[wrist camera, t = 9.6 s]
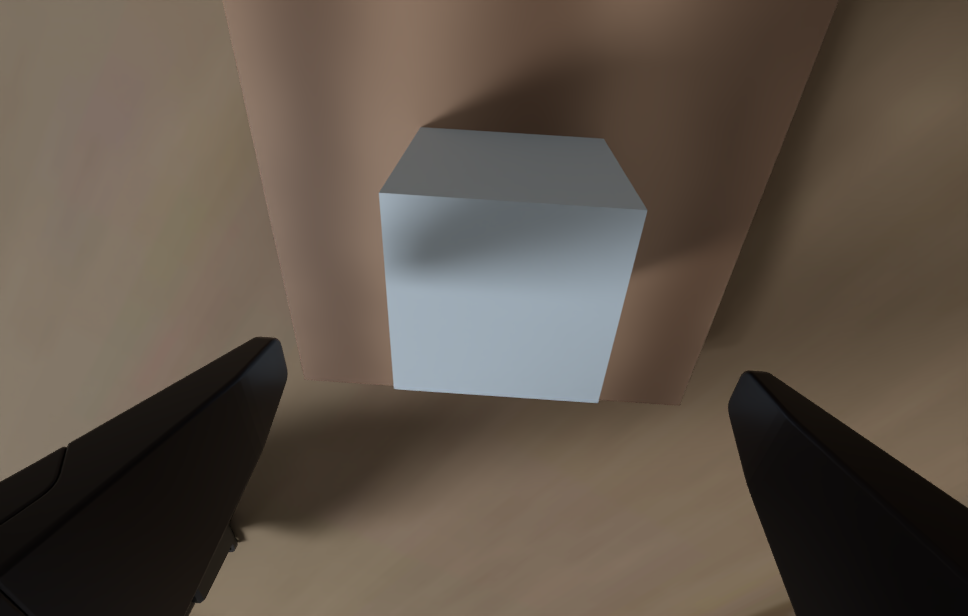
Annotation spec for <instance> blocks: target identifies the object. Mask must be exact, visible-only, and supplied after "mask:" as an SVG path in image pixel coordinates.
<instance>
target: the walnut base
mask: <svg viewBox="0 0 968 616" xmlns="http://www.w3.org/2000/svg"><path fill="white" fill-rule="evenodd" d="M222 1H223V5H224V10H225V15H226V19H227V24H228V29H229V33H230V38H231V42H232V47H233V52H234V56H235V61H236V65H237V70H238V75H239V79H240V84H241V89H242V93H243V98H244V102H245V107H246V112H247V116H248V121H249V125H250V130H251V135H252V139H253V144H254V148H255V153H256V158H257V162H258V167H259V172H260V176H261V181H262V185H263V190H264V195H265V199H266V204H267V208H268V213H269V218H270V222H271V227H272V232H273V236H274V241H275V245H276V250H277V255H278V259H279V264H280V268H281V273H282V278H283V282H284V287H285V292H286V296H287V301H288V305H289V310H290V315H291V319H292V324H293V328H294V333H295V338H296V342H297V347H298V351H299V356H300V361H301V365H302V370H303V375H304V379H305V380H316V381H331V382H345V383H360V384H374V385H389V386H394V384H393V371H392V358H391V345H390V332H389V318H388V305H387V292H386V279H385V266H384V253H383V240H382V227H381V214H380V201H379V192H380V190H381V189H382V187H383V186H384V184H385V182H386V181H387V179H388V178H389V176H390V175H391V173H392V171H393V170H394V168H395V167H396V165H397V163H398V162H399V160H400V159H401V157H402V156H403V154H404V152H405V151H406V149H407V148H408V146H409V145H410V143H411V141H412V140H413V138H414V137H415V135H416V134H417V132H418V130H419V129H420V127H427V128H443V129H459V130H474V131H490V132H506V133H522V134H537V135H553V136H569V137H585V138H601V139H604V140H605V142H606V143H607V145H608V146H609V148H610V150H611V151H612V153H613V155H614V156H615V158H616V160H617V161H618V163H619V164H620V166H621V168H622V169H623V171H624V173H625V174H626V176H627V177H628V179H629V181H630V182H631V184H632V186H633V187H634V189H635V191H636V192H637V194H638V195H639V197H640V199H641V200H642V202H643V204H644V205H645V207H646V209H647V214H646V218H645V222H644V226H643V230H642V234H641V238H640V241H639V245H638V249H637V253H636V257H635V261H634V265H633V269H632V273H631V276H630V280H629V284H628V288H627V292H626V296H625V300H624V304H623V308H622V311H621V315H620V319H619V323H618V327H617V331H616V335H615V339H614V343H613V346H612V350H611V354H610V358H609V362H608V366H607V370H606V374H605V378H604V381H603V385H602V389H601V393H600V397H599V400H607V401H621V402H636V403H651V404H665V405H680V404H681V401H682V398H683V396H684V393H685V391H686V388H687V386H688V383H689V381H690V378H691V376H692V373H693V370H694V368H695V365H696V363H697V360H698V358H699V355H700V353H701V350H702V348H703V345H704V342H705V340H706V337H707V335H708V332H709V330H710V327H711V325H712V322H713V320H714V317H715V314H716V312H717V309H718V307H719V304H720V302H721V299H722V297H723V294H724V292H725V289H726V287H727V284H728V281H729V279H730V276H731V274H732V271H733V269H734V266H735V264H736V261H737V259H738V256H739V253H740V251H741V248H742V246H743V243H744V241H745V238H746V236H747V233H748V231H749V228H750V225H751V223H752V220H753V218H754V215H755V213H756V210H757V208H758V205H759V203H760V200H761V197H762V195H763V192H764V190H765V187H766V185H767V182H768V180H769V177H770V175H771V172H772V170H773V167H774V164H775V162H776V159H777V157H778V154H779V152H780V149H781V147H782V144H783V142H784V139H785V136H786V134H787V131H788V129H789V126H790V124H791V121H792V119H793V116H794V114H795V111H796V108H797V106H798V103H799V101H800V98H801V96H802V93H803V91H804V88H805V86H806V83H807V80H808V78H809V75H810V73H811V70H812V68H813V65H814V63H815V60H816V58H817V55H818V53H819V50H820V47H821V45H822V42H823V40H824V37H825V35H826V32H827V30H828V27H829V25H830V22H831V19H832V17H833V14H834V12H835V9H836V7H837V4H838V2H839V0H222Z"/></svg>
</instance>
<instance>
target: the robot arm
mask: <svg viewBox="0 0 968 616" xmlns="http://www.w3.org/2000/svg"><path fill="white" fill-rule="evenodd" d="M286 381H287V367H286V362H285V358H284V354H283V350H282V346H281V343H280V341H279V340H278V339H276V338H271V337H255V338H253V339H251V340H249V341H248V342H246V343H244V344H242V345H241V346H239V347H237V348H235V349H234V350H232V351H230V352H228V353H227V354H225V355H223V356H221V357H220V358H218V359H216V360H214V361H213V362H211V363H209V364H207V365H206V366H204V367H202V368H200V369H199V370H197V371H195V372H193V373H192V374H190V375H188V376H186V377H185V378H183V379H181V380H179V381H178V382H176V383H174V384H172V385H171V386H169V387H167V388H165V389H164V390H162V391H160V392H158V393H157V394H155V395H153V396H151V397H150V398H148V399H146V400H144V401H142V402H141V403H139V404H137V405H135V406H134V407H132V408H130V409H128V410H127V411H125V412H123V413H121V414H120V415H118V416H116V417H114V418H113V419H111V420H109V421H107V422H106V423H104V424H102V425H100V426H99V427H97V428H95V429H93V430H92V431H90V432H88V433H86V434H85V435H83V436H81V437H79V438H78V439H76V440H74V441H72V442H71V443H69V444H68V446H67V447H62V448H60V449H58V450H56V451H55V452H53V453H51V454H49V455H48V456H46V457H44V458H42V459H41V460H39V461H37V462H35V463H33V464H32V465H30V466H28V467H26V468H24V469H23V470H21V471H19V472H17V473H15V474H14V475H12V476H10V477H8V478H6V479H4V480H3V481H1V482H0V616H189V614H190V612H191V610H192V608H193V607H194V605H195V603H201V602H202V601H203V600H205V598H206V596H207V594H208V592H209V590H210V588H211V586H212V584H213V582H214V580H215V578H216V576H217V574H218V572H219V570H220V568H221V566H222V564H223V562H224V560H225V558H226V556H227V554H228V552H233V551H235V549H236V547H237V545H238V543H237V541H236V538H235V536H234V534H233V532H232V529H231V527H230V525H229V521H230V519H231V517H232V515H233V513H234V510H235V508H236V506H237V504H238V502H239V500H240V498H241V496H242V494H243V491H244V489H245V487H246V485H247V483H248V481H249V479H250V477H251V475H252V472H253V470H254V468H255V466H256V464H257V462H258V460H259V457H260V455H261V453H262V451H263V448H264V445H265V443H266V440H267V437H268V434H269V431H270V428H271V425H272V422H273V420H274V417H275V414H276V411H277V408H278V405H279V402H280V399H281V396H282V393H283V390H284V387H285V384H286ZM728 412H729V417H730V421H731V425H732V429H733V433H734V437H735V441H736V445H737V448H738V452H739V456H740V460H741V464H742V468H743V472H744V476H745V479H746V483H747V486H748V489H749V492H750V494H751V497H752V500H753V503H754V505H755V508H756V511H757V513H758V516H759V519H760V521H761V524H762V527H763V529H764V532H765V535H766V537H767V540H768V543H769V545H770V548H771V551H772V553H773V556H774V559H775V561H776V564H777V567H778V569H779V572H780V574H781V577H782V580H783V582H784V585H785V588H786V590H787V593H788V596H789V598H790V601H791V604H792V606H793V609H794V612H795V614H796V616H968V508H967V507H966V506H964V505H963V504H961V503H960V502H958V501H957V500H955V499H954V498H952V497H951V496H950V495H948V494H947V493H945V492H944V491H942V490H941V489H939V488H938V487H936V486H935V485H933V484H932V483H930V482H929V481H927V480H926V479H925V478H923V477H922V476H920V475H919V474H917V473H916V472H914V471H913V470H911V469H910V468H908V467H907V466H905V465H904V464H902V463H901V462H900V461H898V460H897V459H895V458H894V457H892V456H891V455H889V454H888V453H886V452H885V451H883V450H882V449H880V448H879V447H878V446H876V445H875V444H873V443H872V442H870V441H869V440H867V439H866V438H864V437H863V436H861V435H860V434H858V433H857V432H855V431H854V430H853V429H851V428H850V427H848V426H847V425H845V424H844V423H842V422H841V421H839V420H838V419H836V418H835V417H833V416H832V415H831V414H829V413H828V412H826V411H825V410H823V409H822V408H820V407H819V406H817V405H816V404H814V403H813V402H811V401H810V400H808V399H807V398H806V397H804V396H803V395H801V394H800V393H798V392H797V391H795V390H794V389H792V388H791V387H789V386H788V385H786V384H785V383H784V382H782V381H781V380H779V379H778V378H776V377H775V376H773V375H772V374H770V373H768V372H762V371H745V372H744V373H743V374H742V375H741V377H740V379H739V381H738V383H737V385H736V387H735V389H734V391H733V394H732V396H731V398H730V400H729V404H728Z"/></svg>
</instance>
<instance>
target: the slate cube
mask: <svg viewBox="0 0 968 616" xmlns="http://www.w3.org/2000/svg"><path fill="white" fill-rule="evenodd" d="M379 201H380V214H381V227H382V240H383V253H384V266H385V279H386V292H387V305H388V318H389V332H390V345H391V358H392V371H393V384H394V389H400V390H415V391H429V392H444V393H458V394H473V395H487V396H502V397H517V398H531V399H546V400H560V401H575V402H589V403H598V401H599V397H600V393H601V389H602V385H603V381H604V378H605V374H606V370H607V366H608V362H609V358H610V354H611V350H612V346H613V343H614V339H615V335H616V331H617V327H618V323H619V319H620V315H621V311H622V308H623V304H624V300H625V296H626V292H627V288H628V284H629V280H630V276H631V273H632V269H633V265H634V261H635V257H636V253H637V249H638V245H639V241H640V238H641V234H642V230H643V226H644V222H645V218H646V214H647V209H646V207H645V205H644V204H643V202H642V200H641V199H640V197H639V195H638V194H637V192H636V191H635V189H634V187H633V186H632V184H631V182H630V181H629V179H628V177H627V176H626V174H625V173H624V171H623V169H622V168H621V166H620V164H619V163H618V161H617V160H616V158H615V156H614V155H613V153H612V151H611V150H610V148H609V146H608V145H607V143H606V142H605V140H604V139H601V138H585V137H569V136H553V135H537V134H522V133H506V132H490V131H474V130H459V129H443V128H427V127H420V129H419V130H418V132H417V134H416V135H415V137H414V138H413V140H412V141H411V143H410V145H409V146H408V148H407V149H406V151H405V152H404V154H403V156H402V157H401V159H400V160H399V162H398V163H397V165H396V167H395V168H394V170H393V171H392V173H391V175H390V176H389V178H388V179H387V181H386V182H385V184H384V186H383V187H382V189H381V190H380V192H379Z"/></svg>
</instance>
